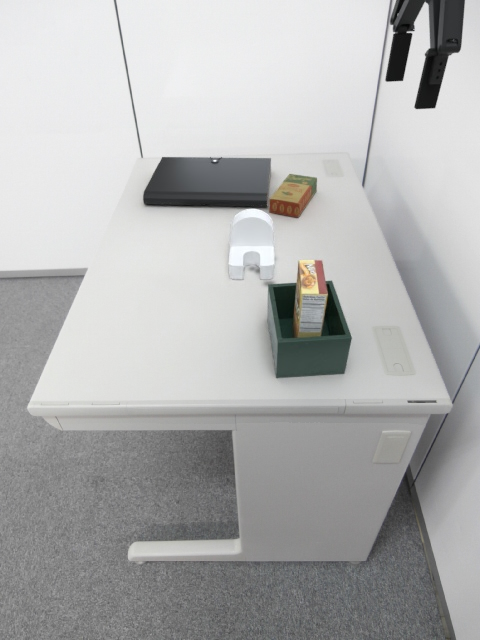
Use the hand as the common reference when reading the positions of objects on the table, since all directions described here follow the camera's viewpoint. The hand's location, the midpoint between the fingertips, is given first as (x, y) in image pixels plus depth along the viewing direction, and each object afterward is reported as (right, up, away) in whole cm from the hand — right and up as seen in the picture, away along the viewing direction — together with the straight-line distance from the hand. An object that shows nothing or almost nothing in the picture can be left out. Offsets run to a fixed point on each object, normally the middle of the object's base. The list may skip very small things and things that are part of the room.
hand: (408, 93), depth 66 cm
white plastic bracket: (-23, -20, +34) cm, 45 cm away
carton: (-11, -2, +52) cm, 53 cm away
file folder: (-34, +4, +60) cm, 68 cm away
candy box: (-14, -39, +12) cm, 43 cm away
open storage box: (-14, -39, +13) cm, 43 cm away
